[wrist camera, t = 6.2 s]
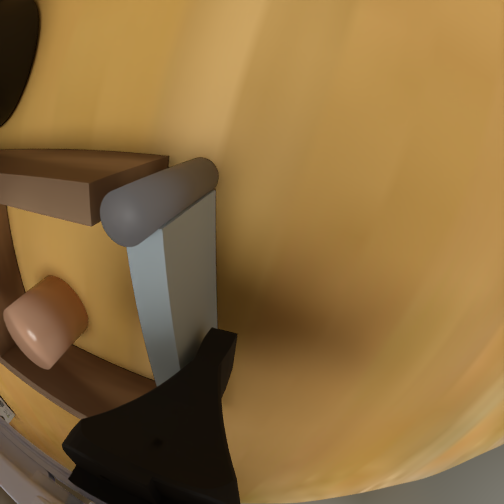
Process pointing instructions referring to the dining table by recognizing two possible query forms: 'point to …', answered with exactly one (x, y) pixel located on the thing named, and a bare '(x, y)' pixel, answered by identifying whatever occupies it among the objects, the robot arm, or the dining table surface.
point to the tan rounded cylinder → (46, 321)
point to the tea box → (5, 412)
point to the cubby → (79, 211)
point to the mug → (15, 50)
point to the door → (169, 257)
